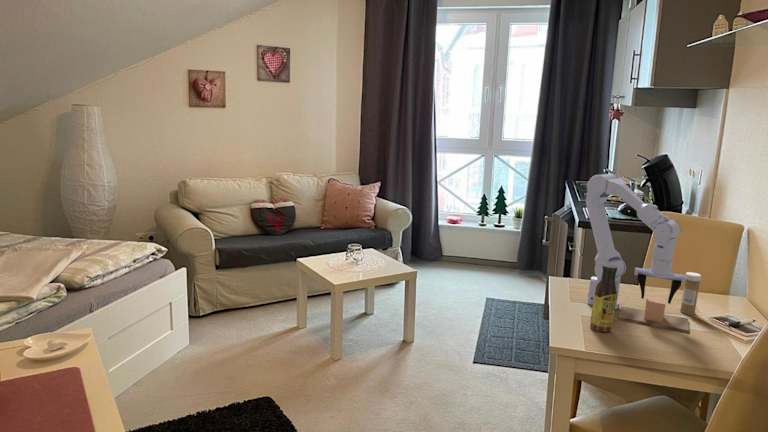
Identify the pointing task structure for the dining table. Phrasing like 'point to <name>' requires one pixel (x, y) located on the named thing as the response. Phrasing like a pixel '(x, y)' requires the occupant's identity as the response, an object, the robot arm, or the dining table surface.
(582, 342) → the dining table surface
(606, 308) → the sauce bottle
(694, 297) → the sprinkles bottle
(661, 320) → the pink block
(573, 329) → the dining table surface
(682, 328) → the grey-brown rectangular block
